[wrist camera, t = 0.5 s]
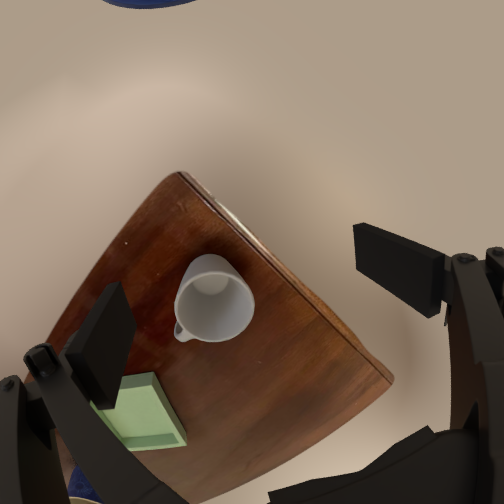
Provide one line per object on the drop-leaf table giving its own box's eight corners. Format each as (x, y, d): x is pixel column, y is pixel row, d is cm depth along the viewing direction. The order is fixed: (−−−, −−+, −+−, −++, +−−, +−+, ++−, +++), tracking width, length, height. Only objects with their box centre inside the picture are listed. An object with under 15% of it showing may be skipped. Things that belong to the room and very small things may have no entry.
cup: (254, 271, 36) (271, 302, 28) (202, 328, 37) (206, 369, 29) (205, 232, 33) (209, 254, 25) (154, 294, 34) (145, 331, 26)
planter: (136, 478, 45) (134, 518, 35) (106, 487, 45) (102, 522, 35) (90, 452, 41) (82, 494, 31) (64, 463, 41) (55, 499, 31)
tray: (79, 381, 36) (74, 394, 33) (153, 371, 38) (151, 385, 35) (120, 439, 41) (118, 451, 38) (186, 432, 42) (187, 445, 40)
